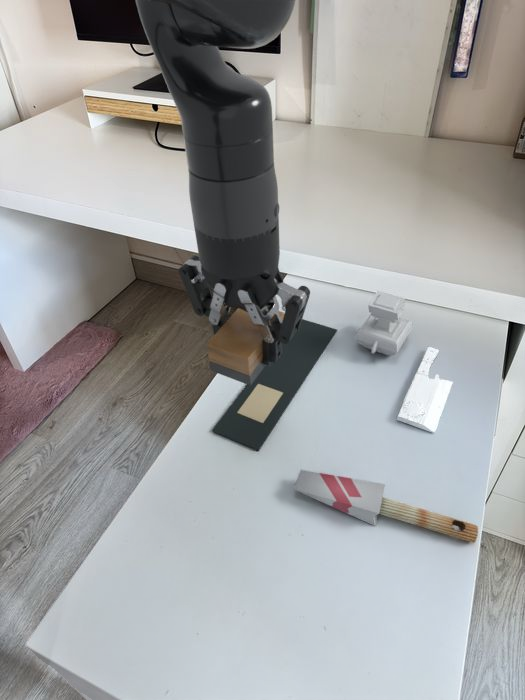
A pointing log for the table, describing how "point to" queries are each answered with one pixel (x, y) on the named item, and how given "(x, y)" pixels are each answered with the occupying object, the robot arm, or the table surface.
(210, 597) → the table surface
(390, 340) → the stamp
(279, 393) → the mat
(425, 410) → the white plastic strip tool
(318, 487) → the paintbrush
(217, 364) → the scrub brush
